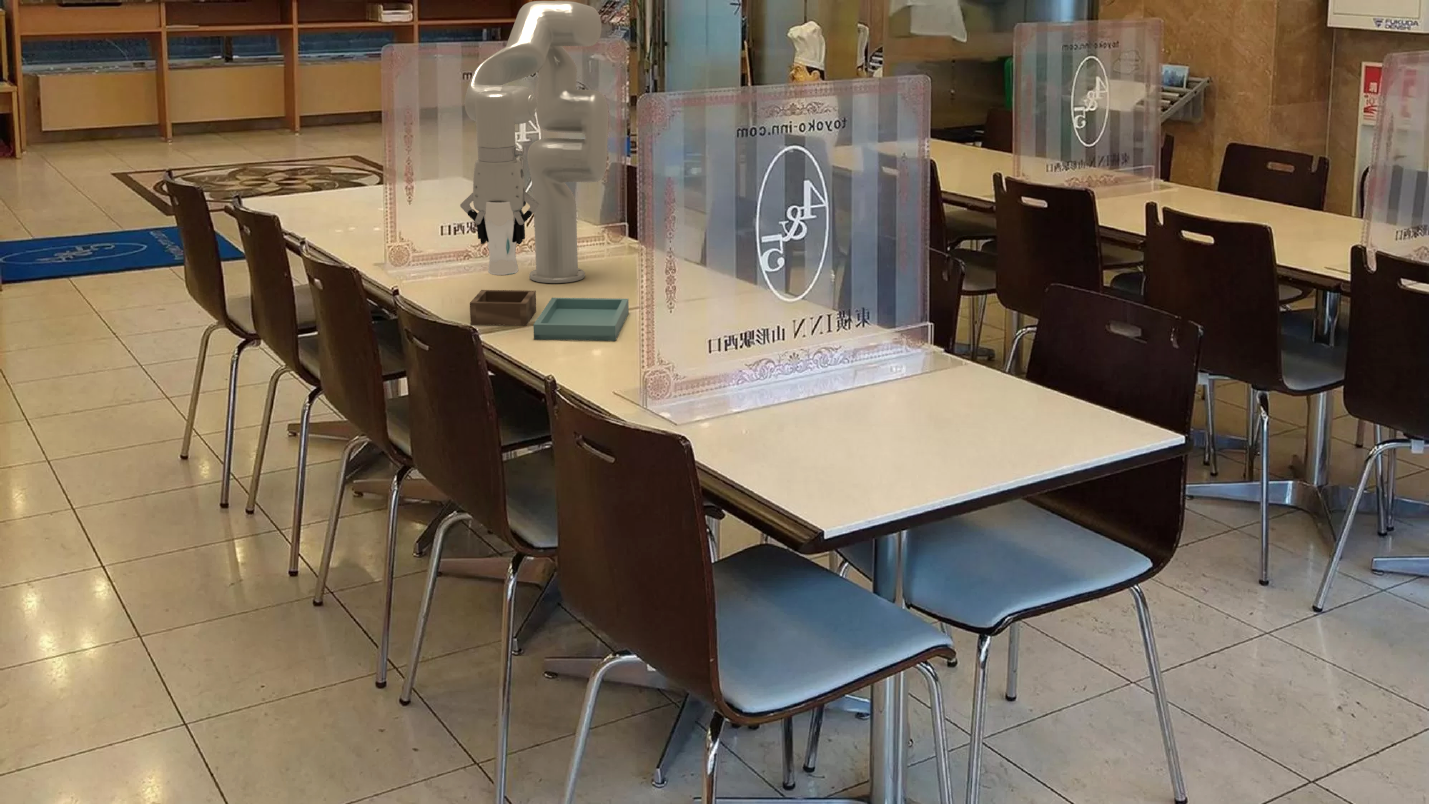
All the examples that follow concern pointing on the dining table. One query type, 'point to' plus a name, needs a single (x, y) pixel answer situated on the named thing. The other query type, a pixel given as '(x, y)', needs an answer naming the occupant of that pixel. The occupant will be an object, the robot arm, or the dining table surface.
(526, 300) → the box
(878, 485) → the dining table surface
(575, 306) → the tray
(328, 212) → the dining table surface
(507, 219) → the beer glass
